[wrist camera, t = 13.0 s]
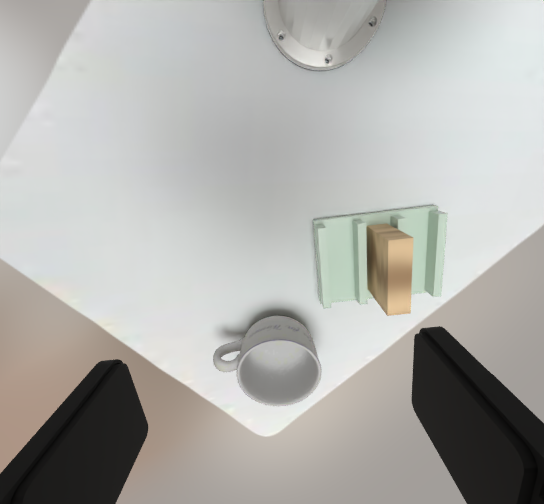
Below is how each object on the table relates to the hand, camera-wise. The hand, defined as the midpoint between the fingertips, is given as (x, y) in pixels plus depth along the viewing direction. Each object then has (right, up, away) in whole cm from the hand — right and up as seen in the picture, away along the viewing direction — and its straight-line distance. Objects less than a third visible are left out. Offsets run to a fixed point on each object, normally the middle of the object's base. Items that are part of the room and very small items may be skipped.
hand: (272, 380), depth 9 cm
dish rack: (+14, +4, +28) cm, 32 cm away
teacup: (-1, -8, +33) cm, 34 cm away
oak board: (+14, +3, +27) cm, 31 cm away
